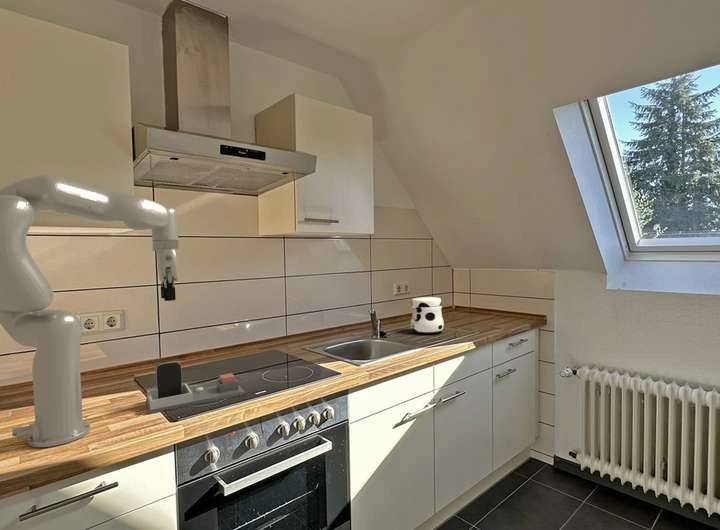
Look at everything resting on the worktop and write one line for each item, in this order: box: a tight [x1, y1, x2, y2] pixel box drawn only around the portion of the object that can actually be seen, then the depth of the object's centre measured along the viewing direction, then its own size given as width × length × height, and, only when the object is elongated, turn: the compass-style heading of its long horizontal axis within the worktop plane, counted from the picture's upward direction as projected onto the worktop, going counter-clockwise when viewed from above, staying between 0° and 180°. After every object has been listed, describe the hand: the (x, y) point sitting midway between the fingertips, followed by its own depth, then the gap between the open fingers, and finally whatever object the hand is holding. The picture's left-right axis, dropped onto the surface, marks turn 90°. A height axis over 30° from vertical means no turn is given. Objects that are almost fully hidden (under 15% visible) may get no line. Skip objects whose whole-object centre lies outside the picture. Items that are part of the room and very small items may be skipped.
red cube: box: [218, 372, 236, 384], centre depth 132 cm, size 4×4×4 cm
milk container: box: [410, 296, 445, 335], centre depth 219 cm, size 17×17×18 cm
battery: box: [155, 360, 183, 399], centre depth 124 cm, size 7×4×11 cm, turn 124°
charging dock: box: [145, 378, 246, 415], centre depth 128 cm, size 27×12×4 cm, turn 121°
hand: (168, 299), depth 133 cm, fingers open, 9 cm apart
